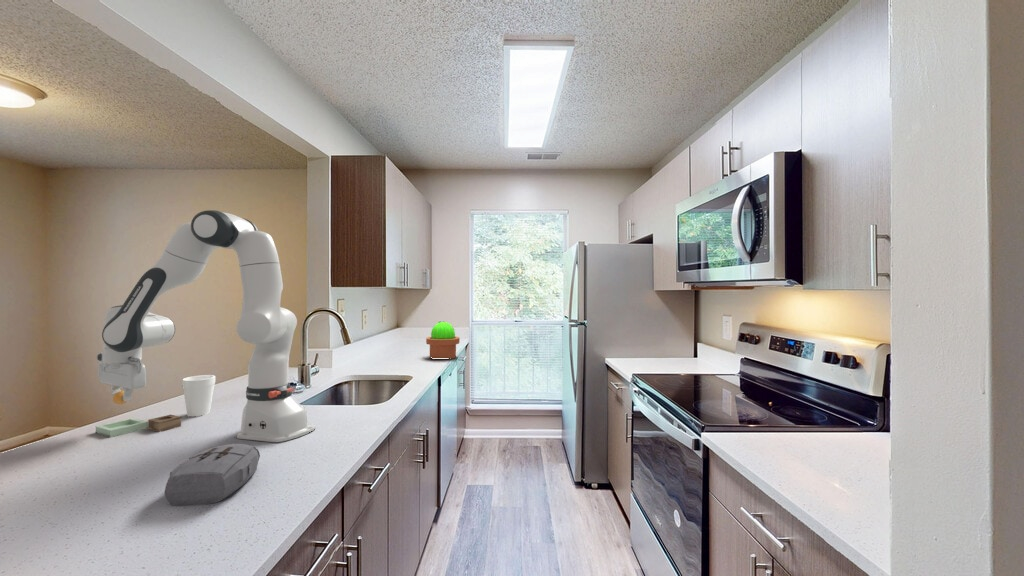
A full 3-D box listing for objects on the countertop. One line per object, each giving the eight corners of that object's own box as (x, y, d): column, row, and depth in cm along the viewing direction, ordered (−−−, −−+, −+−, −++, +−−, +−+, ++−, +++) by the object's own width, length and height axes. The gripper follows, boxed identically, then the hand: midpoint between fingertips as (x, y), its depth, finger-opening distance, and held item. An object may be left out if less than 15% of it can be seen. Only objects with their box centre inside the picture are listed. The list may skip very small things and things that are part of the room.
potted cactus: (457, 360, 257) (457, 322, 257) (423, 360, 256) (423, 321, 256) (460, 355, 278) (461, 319, 279) (429, 355, 278) (429, 319, 278)
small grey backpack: (232, 504, 83) (272, 464, 103) (233, 464, 83) (272, 431, 103) (149, 511, 80) (206, 468, 100) (150, 470, 80) (207, 434, 100)
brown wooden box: (181, 426, 130) (181, 416, 130) (158, 431, 124) (158, 422, 124) (170, 423, 132) (170, 414, 132) (148, 429, 127) (148, 419, 127)
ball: (132, 403, 127) (133, 390, 127) (116, 406, 123) (116, 393, 123) (126, 401, 128) (126, 389, 128) (109, 404, 124) (110, 391, 124)
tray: (147, 427, 128) (147, 421, 128) (110, 437, 120) (110, 430, 120) (132, 424, 131) (132, 417, 131) (95, 432, 123) (95, 426, 123)
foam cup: (176, 415, 141) (177, 378, 141) (206, 408, 149) (207, 374, 149) (190, 419, 136) (190, 381, 136) (220, 412, 145) (220, 376, 145)
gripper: (153, 357, 124) (152, 401, 124) (119, 352, 133) (118, 393, 132) (127, 360, 119) (126, 406, 118) (93, 354, 127) (92, 398, 127)
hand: (121, 399), depth 126 cm, fingers closed on ball, 4 cm apart
